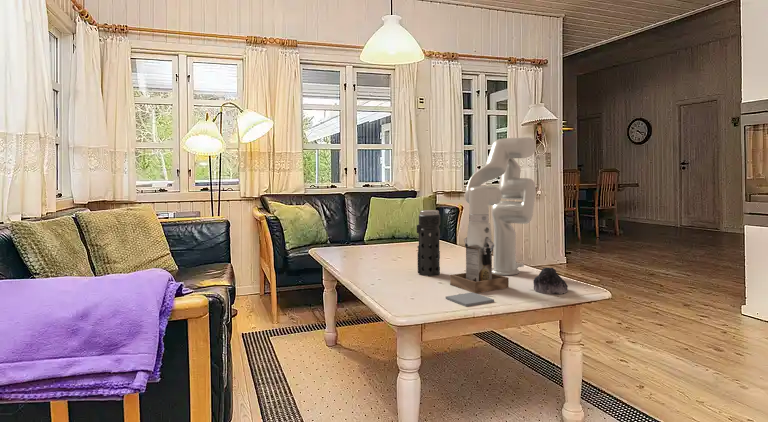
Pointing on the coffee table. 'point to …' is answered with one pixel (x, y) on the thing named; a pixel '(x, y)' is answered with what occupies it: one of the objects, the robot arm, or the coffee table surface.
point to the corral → (479, 283)
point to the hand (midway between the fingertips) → (478, 262)
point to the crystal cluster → (549, 282)
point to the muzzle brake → (429, 243)
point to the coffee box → (477, 265)
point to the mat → (469, 299)
